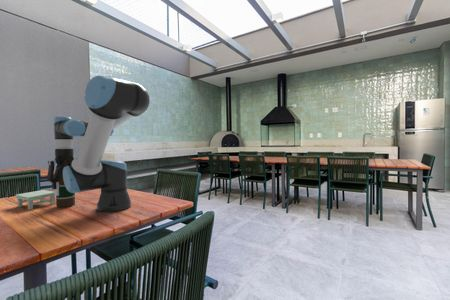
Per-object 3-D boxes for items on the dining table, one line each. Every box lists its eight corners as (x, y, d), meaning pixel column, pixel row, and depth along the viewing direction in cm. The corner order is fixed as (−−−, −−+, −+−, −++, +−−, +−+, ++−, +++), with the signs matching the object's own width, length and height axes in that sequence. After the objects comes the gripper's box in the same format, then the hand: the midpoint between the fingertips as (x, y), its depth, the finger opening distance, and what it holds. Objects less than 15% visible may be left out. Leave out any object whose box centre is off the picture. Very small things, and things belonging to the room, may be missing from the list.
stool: (56, 203, 119) (56, 192, 119) (28, 210, 108) (28, 197, 108) (43, 200, 124) (43, 189, 124) (15, 206, 114) (15, 194, 113)
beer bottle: (65, 208, 111) (64, 159, 110) (52, 207, 113) (50, 158, 112) (78, 204, 119) (77, 157, 118) (66, 203, 120) (64, 157, 119)
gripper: (80, 147, 125) (81, 188, 126) (36, 148, 107) (37, 197, 108) (88, 147, 122) (89, 190, 123) (45, 149, 103) (46, 199, 105)
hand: (65, 193), depth 115 cm, fingers closed on beer bottle, 7 cm apart
